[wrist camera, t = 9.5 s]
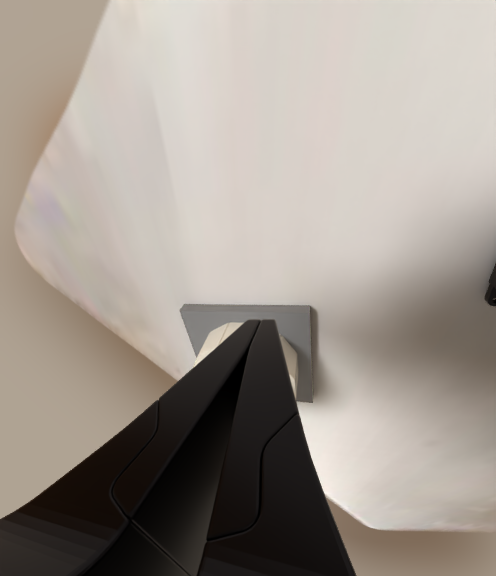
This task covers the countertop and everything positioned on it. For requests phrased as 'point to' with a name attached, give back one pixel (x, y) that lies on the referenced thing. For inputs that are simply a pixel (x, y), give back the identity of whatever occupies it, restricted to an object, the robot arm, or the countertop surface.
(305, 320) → the socket
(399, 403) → the countertop surface
